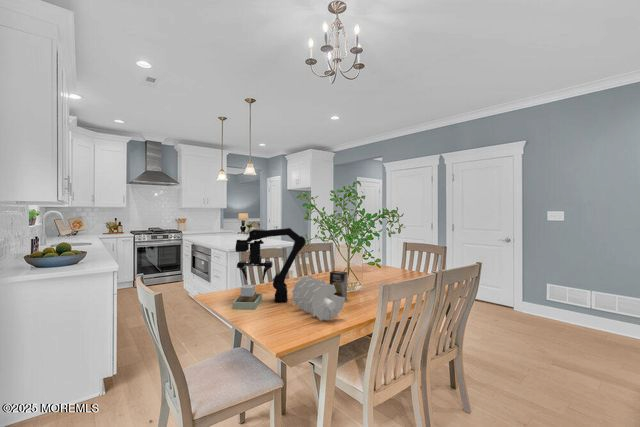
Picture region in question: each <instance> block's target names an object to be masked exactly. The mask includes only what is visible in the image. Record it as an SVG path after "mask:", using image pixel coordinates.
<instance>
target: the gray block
mask: <svg viewBox="0 0 640 427" xmlns="http://www.w3.org/2000/svg"><path fill="white" fill-rule="evenodd" d="M255 292H256V284H243V285H242V286H241V287H240V294H241V296H253V295H254V294H255Z"/></svg>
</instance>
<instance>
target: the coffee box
mask: <svg viewBox="0 0 640 427" xmlns="http://www.w3.org/2000/svg"><path fill="white" fill-rule="evenodd" d="M329 284H331V285H334V286H335V289H336V293H334V295H337V296H338V297H344V298H345V301H346V300H347V299H348V271H342V270H341V271H340V270H331V271H330V272H329Z"/></svg>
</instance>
